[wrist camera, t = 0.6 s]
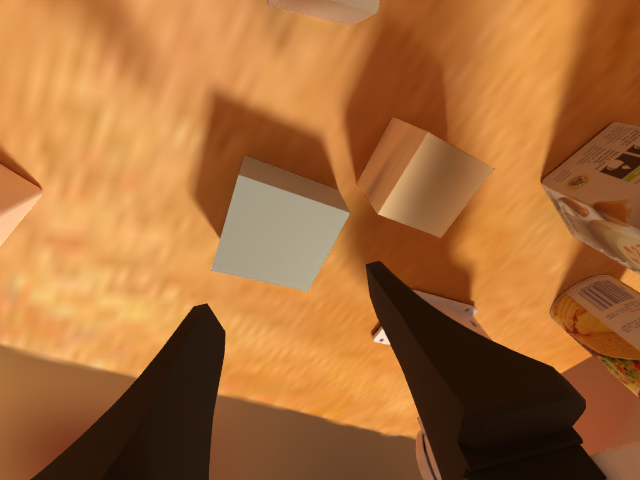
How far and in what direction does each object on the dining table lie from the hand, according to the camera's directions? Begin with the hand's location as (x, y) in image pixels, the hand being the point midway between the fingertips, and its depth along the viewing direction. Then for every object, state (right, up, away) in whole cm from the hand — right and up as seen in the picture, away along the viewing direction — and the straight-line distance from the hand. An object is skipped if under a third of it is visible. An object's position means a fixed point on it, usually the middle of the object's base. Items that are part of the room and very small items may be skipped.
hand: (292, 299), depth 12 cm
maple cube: (+7, +8, +8) cm, 13 cm away
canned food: (+33, -4, +20) cm, 39 cm away
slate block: (-2, +5, +9) cm, 10 cm away
